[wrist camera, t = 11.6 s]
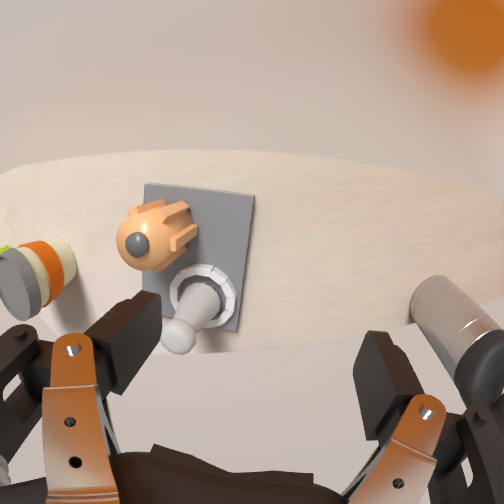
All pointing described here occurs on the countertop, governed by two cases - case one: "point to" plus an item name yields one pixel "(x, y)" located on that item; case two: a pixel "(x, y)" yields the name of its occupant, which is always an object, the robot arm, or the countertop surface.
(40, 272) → the reusable coffee cup
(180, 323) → the salt shaker
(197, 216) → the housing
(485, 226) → the countertop surface
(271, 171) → the countertop surface
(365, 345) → the robot arm
